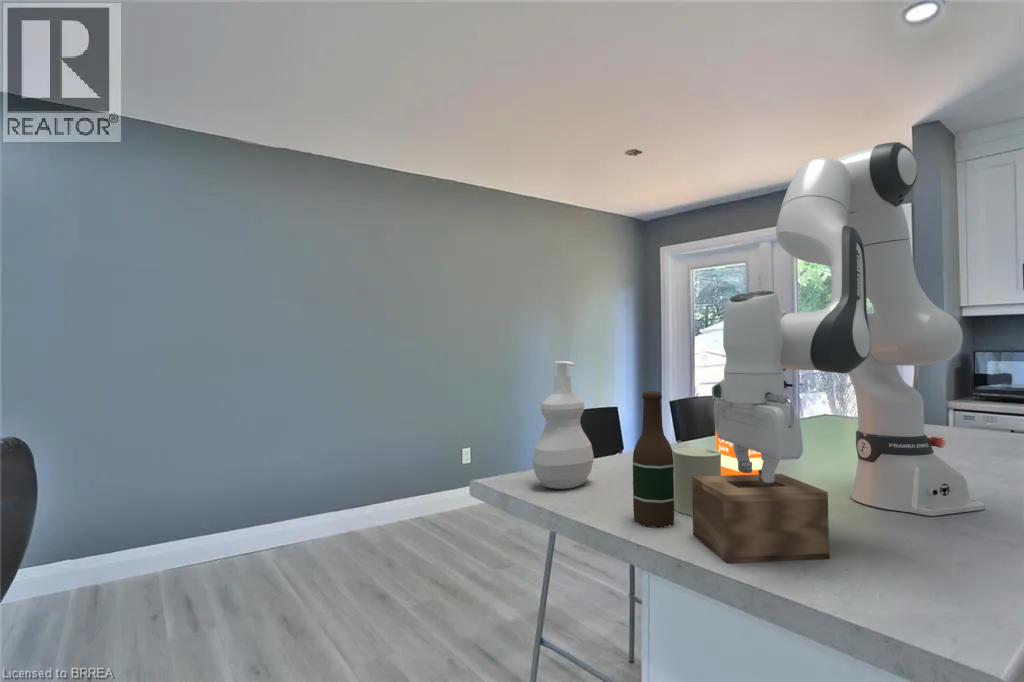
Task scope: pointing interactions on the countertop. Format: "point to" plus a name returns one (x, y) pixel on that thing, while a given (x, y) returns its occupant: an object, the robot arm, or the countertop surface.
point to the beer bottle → (653, 469)
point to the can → (692, 473)
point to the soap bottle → (562, 437)
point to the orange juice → (735, 459)
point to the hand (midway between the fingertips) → (755, 476)
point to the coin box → (760, 518)
